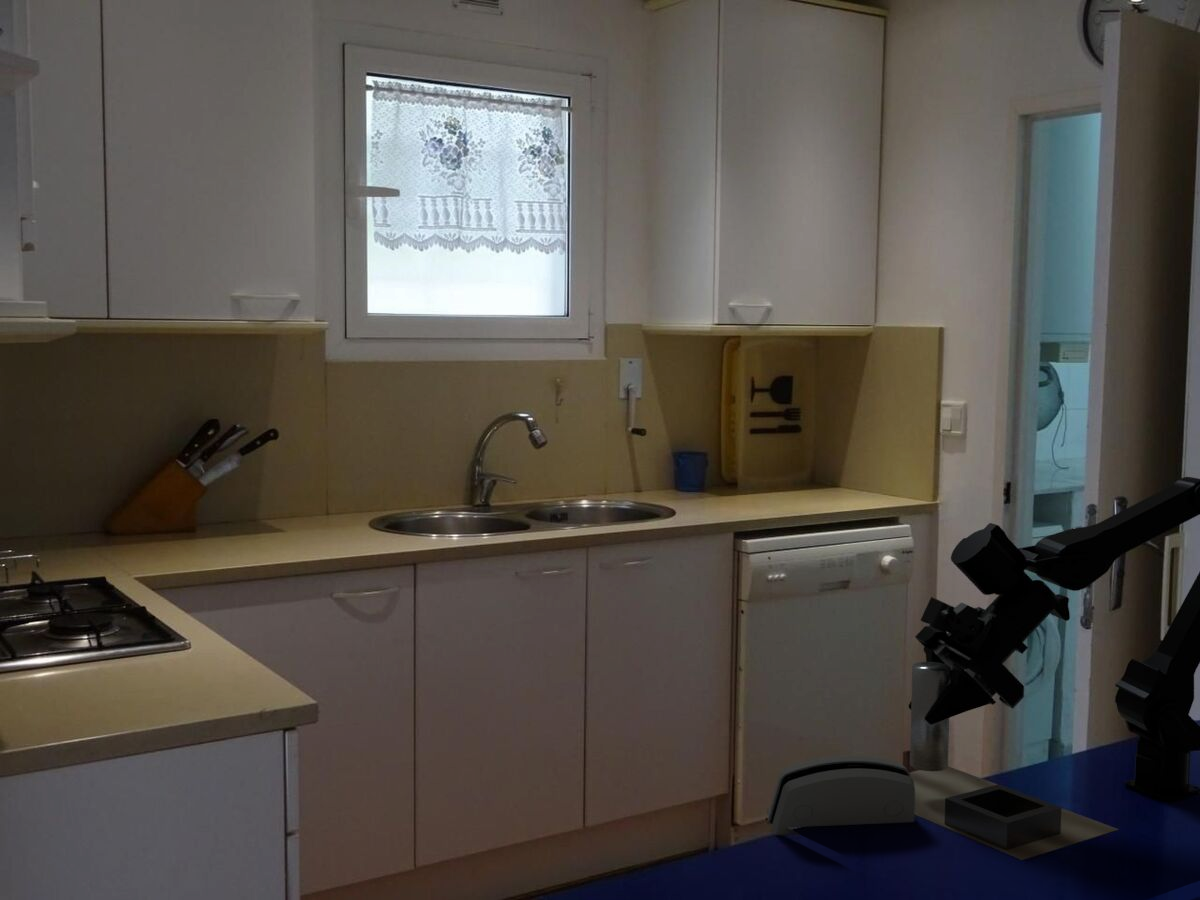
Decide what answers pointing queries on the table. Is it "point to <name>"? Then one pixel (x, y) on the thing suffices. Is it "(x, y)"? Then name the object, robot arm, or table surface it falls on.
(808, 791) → the grey arched block
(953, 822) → the knuckle socket
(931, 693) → the pin
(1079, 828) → the board
